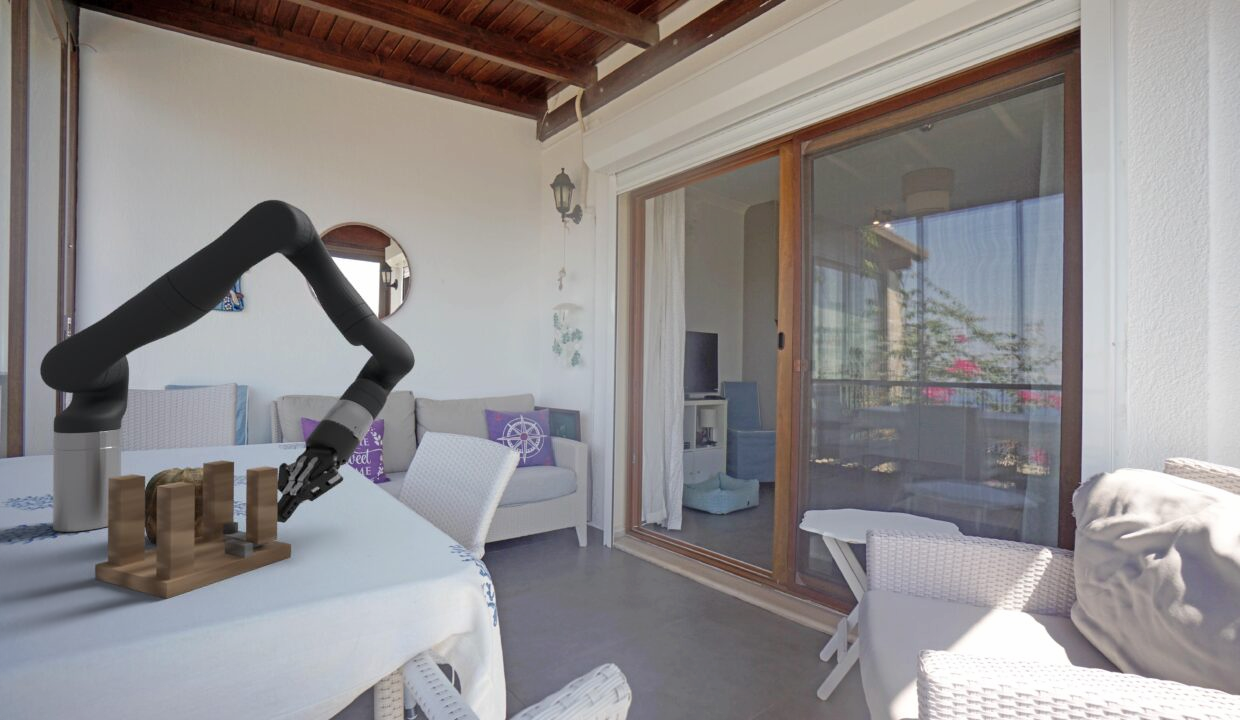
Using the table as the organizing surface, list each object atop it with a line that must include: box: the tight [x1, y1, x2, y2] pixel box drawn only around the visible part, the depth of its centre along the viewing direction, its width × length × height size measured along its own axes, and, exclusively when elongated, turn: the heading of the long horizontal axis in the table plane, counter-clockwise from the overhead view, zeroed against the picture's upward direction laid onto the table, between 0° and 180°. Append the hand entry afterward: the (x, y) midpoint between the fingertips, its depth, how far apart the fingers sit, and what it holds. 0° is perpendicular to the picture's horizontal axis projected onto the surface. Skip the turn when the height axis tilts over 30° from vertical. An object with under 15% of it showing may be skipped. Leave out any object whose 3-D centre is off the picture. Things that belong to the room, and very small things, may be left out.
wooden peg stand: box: [94, 459, 292, 600], centre depth 90 cm, size 16×18×14 cm
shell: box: [145, 466, 203, 544], centre depth 104 cm, size 11×11×12 cm
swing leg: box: [223, 465, 279, 548], centre depth 95 cm, size 10×3×12 cm, turn 63°
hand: (276, 519), depth 95 cm, fingers closed
